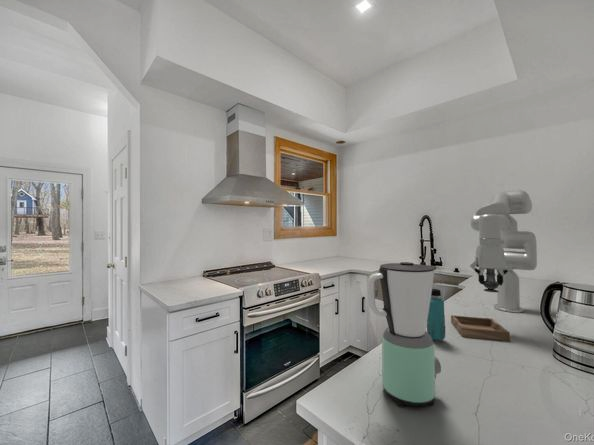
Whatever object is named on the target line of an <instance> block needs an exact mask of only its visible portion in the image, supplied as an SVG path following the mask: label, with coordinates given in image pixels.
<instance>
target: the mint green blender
mask: <svg viewBox="0 0 594 445" xmlns="http://www.w3.org/2000/svg"><path fill="white" fill-rule="evenodd" d="M437 268H438V266H436V265H429V264H420V263H419V264H416V263H414V262H409V261H408V262H407V261H404V262H403V261H401V262H399V263H397V262H395V263H393V262H392V263H383V264H380V266H379V271H378V272H375V273H372V274H370V275H369V277H368V280H367V303H368V307H369V309H370V311H371V312H373V314H375V315H376V316H379V317H385V319H386V322H387V327H386V329H384V331H383V333H382V340H381V342H382V344H381V350H382V351H381V353H382V354H381V355H382V356H381V358H382V360H381V363H382V364H381V370H382V371H381V372H382V373H381V375H382V378H381V381H382V382H381V385H382V388H383V391H385V393H386V394H387V395H388V396H390V398H392V399H393V400H394V401H396V406H397V407H399V408H405V406H406V405H407V406H412V407H424V406H427V405H428V406H431V407H432V406H434V405H435V397H436V393H437V392H436V379H437V374H440V373H441V372H442V365H441V362H440V359H438V357H437V356H436V352H435V344H434V339H433V338H431V336H430V335H429V334H428V333H427V319H428V313H429V306H430V299H431V297H432V295H431V293H432V289H433V284H434V277H435V273H436V270H437ZM376 280H379V281H380V286H381V287H380V288H381V294H382V301H383V307H382V309H379V308H378V307H377V305H376V296H375V294H376V293H375V282H376Z"/></svg>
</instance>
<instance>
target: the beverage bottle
mask: <svg viewBox="0 0 594 445" xmlns="http://www.w3.org/2000/svg"><path fill="white" fill-rule="evenodd" d="M441 292H442V291H441V290H440V289H437V288H432V293H431V299H430V306H429V313H428V319H427V325H426V332H427V333H428V334H429V335H430V336H431V338H432V340H438V341H442V340H445V338H446V315H445V300H443V299H442V298H440V296H442V294H441Z"/></svg>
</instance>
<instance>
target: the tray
mask: <svg viewBox="0 0 594 445" xmlns="http://www.w3.org/2000/svg"><path fill="white" fill-rule="evenodd" d="M450 322H451V325H452V326H453V327H454V328H455V330H456V331H457V332H458V334H459V335H460V337H462V338H470V339H471V338H472V339H480V340H489V341H490V340H491V341H499V342H510V341H511V334H510V331H509V330H507V329H506V328H505V327H504V326H502V325H501V324H499V323H498V322H497V321H496V320H495V319H493V318H487V317H478V316H477V317H476V316H464V315H463V316H462V315H450Z"/></svg>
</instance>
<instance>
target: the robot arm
mask: <svg viewBox="0 0 594 445" xmlns="http://www.w3.org/2000/svg"><path fill="white" fill-rule="evenodd" d="M532 209H533V203H532V200H531V197H530V195H529V193H528V192H527V191H525V190H521V189H517V190H507V191H506V190H505V191H498V192H496V193H495V194H493V196H492V198H491V200H490V203H488V204H486V205H484V206H482V207H480V208H477V210H475V211H474V213H473V215H472V216H471V219H470V227H471V229H472V230H473V231H475V232H479V233H478V234H479V236H478V237H479V238H478V239H479V242H478V243H479V245H476V248H475V249H476V251H475V259H474V260H475V261H473V262H471V264H469V267H470V268H471V269H472V270H473V271H474V272H475V273H476V274H477V276H478V282H479V284H481V285H483V286H484V281H485V275H484V272H485V270H487V269H495V271H496V282H497V283H499V284H498V288H496V290H497V291H499V292H496V294H497V295H496V297H497V298H496V299H497V300H496V301H497V303H494V305H493V307H494V309H497V310H499V311H503V312H508V313H517V314H519V313H523V312H524V308H523V307H521V305H520V303H521V302H520V301H521V300H520V298H521V297H520V277H519V275H518V274H517V273H516V271H515V270H519V271H520V270H522V271H535V269H536V268H537V265H538V257H537V256H538V254H537V253H538V252H537V250H538V249H537V246H538V245H537V237H536V235H535V234H534V232H532V231H528V230H527V231H525V230H524V231H523V230H522V231H519V230H518V221H517V220H516V219H515V218H514V217H513V216H512V215H525V214H529V213H530V212H531V211H532ZM504 249H509V250H504ZM511 249H512V250H511ZM513 249H514V250H513ZM516 250H523V251H516Z"/></svg>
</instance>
